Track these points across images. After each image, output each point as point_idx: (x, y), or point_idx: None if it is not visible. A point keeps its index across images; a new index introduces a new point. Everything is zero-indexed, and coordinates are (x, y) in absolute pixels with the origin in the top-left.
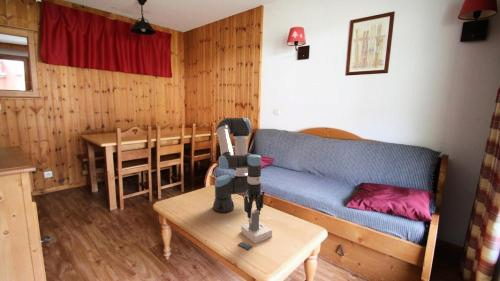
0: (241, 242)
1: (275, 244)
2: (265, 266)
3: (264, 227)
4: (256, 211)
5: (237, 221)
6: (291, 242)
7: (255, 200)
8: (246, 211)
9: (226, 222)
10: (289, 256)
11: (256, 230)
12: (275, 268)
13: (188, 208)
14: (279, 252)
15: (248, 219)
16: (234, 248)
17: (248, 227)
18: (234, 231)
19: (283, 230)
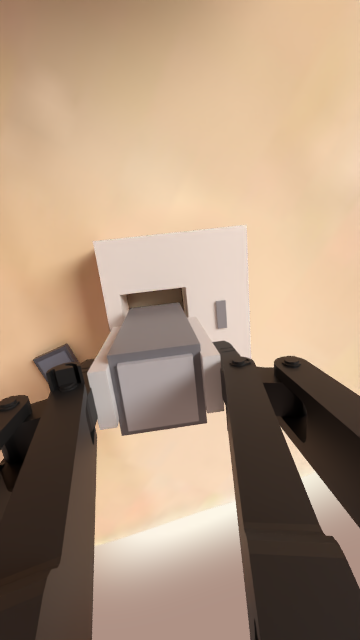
0: (58, 353)
1: (214, 420)
2: (99, 511)
3: (228, 339)
4: (187, 405)
5: (134, 85)
6: (284, 434)
7: (238, 496)
8: (3, 465)
9: (43, 46)
10: (215, 498)
11: (184, 303)
12: (128, 529)
13: None
14: (195, 468)
15: (108, 335)
16: (11, 371)
17: (132, 292)
18: (64, 214)
19: (325, 340)
